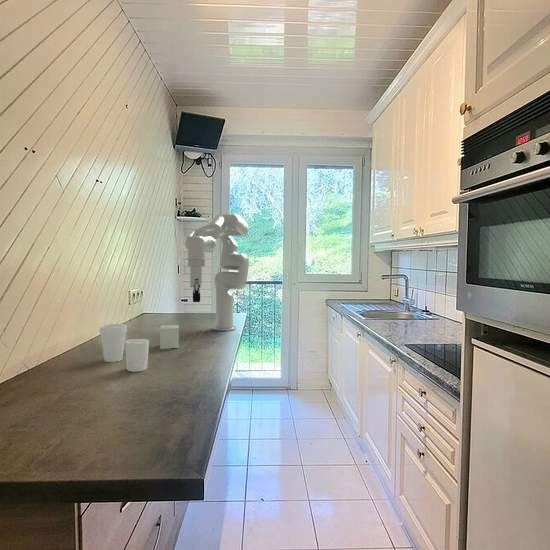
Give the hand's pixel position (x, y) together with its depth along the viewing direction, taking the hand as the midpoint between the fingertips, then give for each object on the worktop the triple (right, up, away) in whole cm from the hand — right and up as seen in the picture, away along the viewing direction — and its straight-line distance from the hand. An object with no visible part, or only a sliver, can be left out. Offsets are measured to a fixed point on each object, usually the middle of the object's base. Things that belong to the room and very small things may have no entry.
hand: (196, 300), depth 181 cm
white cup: (-12, -22, -43) cm, 50 cm away
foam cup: (-25, -21, -32) cm, 46 cm away
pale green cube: (-10, -20, -9) cm, 24 cm away
